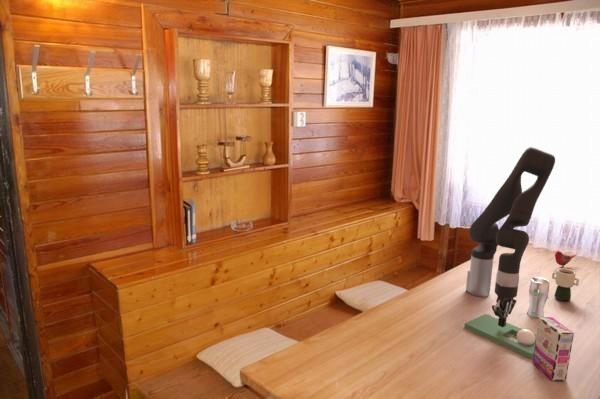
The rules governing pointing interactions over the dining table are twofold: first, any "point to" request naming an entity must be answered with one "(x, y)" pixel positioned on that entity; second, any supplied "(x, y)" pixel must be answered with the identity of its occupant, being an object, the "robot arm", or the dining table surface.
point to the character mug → (564, 283)
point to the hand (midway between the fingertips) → (501, 325)
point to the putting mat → (499, 334)
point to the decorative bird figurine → (562, 258)
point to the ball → (525, 337)
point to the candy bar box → (553, 348)
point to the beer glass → (538, 296)
